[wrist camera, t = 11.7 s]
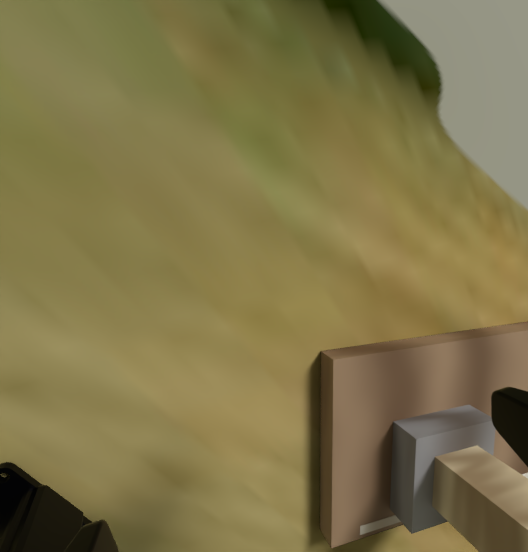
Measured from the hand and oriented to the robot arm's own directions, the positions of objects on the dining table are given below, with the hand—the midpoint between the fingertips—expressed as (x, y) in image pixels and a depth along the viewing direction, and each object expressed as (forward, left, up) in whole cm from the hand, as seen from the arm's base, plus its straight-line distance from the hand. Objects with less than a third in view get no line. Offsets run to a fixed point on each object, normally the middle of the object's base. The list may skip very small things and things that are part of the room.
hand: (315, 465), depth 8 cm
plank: (+8, -17, -12) cm, 22 cm away
